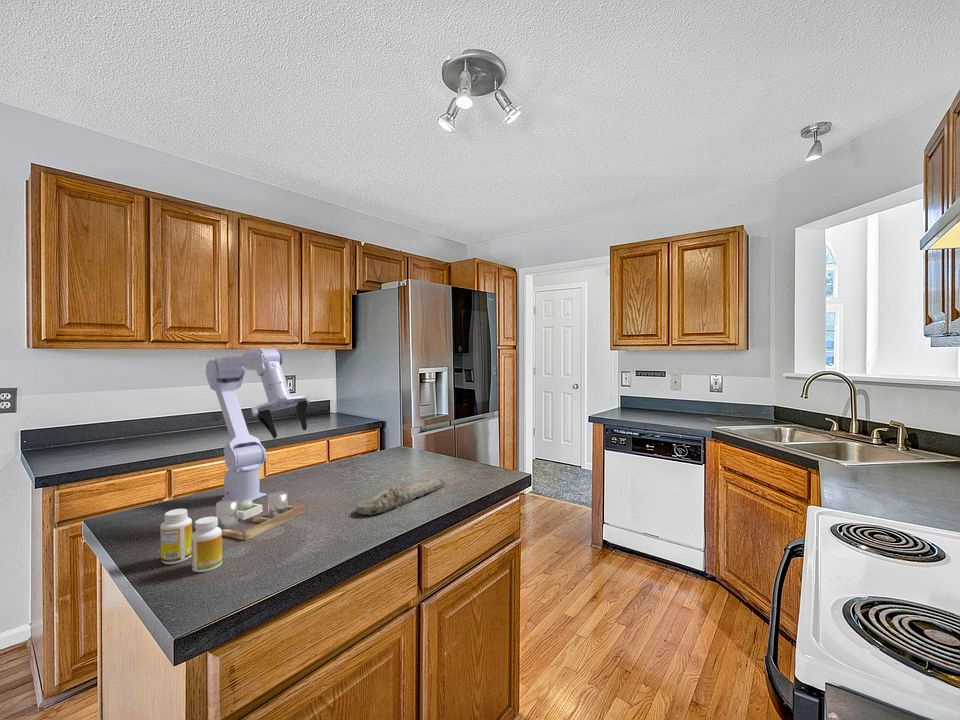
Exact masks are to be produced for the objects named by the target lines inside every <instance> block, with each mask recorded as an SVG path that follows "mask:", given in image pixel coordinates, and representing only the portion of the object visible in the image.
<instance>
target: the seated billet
mask: <svg viewBox="0 0 960 720" xmlns="http://www.w3.org/2000/svg"><path fill="white" fill-rule="evenodd" d="M288 498H289V497H288V492H287V491H284V490H283V491H282V490H281V491H274V492H271V493H268V494H267V518H273V517H276V516H278V515H280V514H282V513H285V512H287V511H288V505H289V504H288V501H289V500H288Z"/></svg>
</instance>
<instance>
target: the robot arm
mask: <svg viewBox="0 0 960 720" xmlns="http://www.w3.org/2000/svg"><path fill="white" fill-rule="evenodd" d="M282 365H283V353H282V352H281V350H280V349H278V348H265V347H260V348H252V347H251V348H249V350H248V351H247V350H246V351H245V352H244V353H243V354H242V355H227V356H221V357H216V358H215V357H214V359H213V358H212V359H209V360H208V362H207V363H206V366H205V377H206V380H207V383H208V385H209V389H210V390H212V391H214V392H215V393H216V397H217V400H218V403H219V406H220V409H221V413H222V415H223V416H222V417H223V419H224V421H225V426H226V428H227V431H228V434H229V437H230V440H229V442H228V443H226V445H225V447H223V455H224V463H225V466H226V468H227V469H228V470H227V471H226V472H225V474H224V477H223V487H224V488H223V491H224V493H223V494H224V495H223V496H224V497H221V501H222V500H226V499H237V500H238V502H239V501H241V500H248V499H249V500H252V501H254V500H258V499H260V498H263V497H265V496H267V493H264V492H260V485H261V484H260V468H262V465H263V464H264V463H265V462H266V457H267V453H266V449H265V447H264V446H263V445H262V443H261V441H260V438H258V437H257V436H254V435H252V434H250V433H249V429H248V427H247V424H246V420H245V418H244V415H243V412H242V409H241V406H240V402H239V400H238V397H237V394H236V390H238V389H239V388H241V387H242V384H243V381H244V379H245V375H246V372H247V370H248V371H255V372H256V375H257V376H258V377H260V379H261V383H262V385H263V389H264V392H265V396H266V398H267V402H265V403H263V404H259V405H256V406H252V407H251V410H250V411H251V413H252V417H257V420H258V421H259V422H260V423H261V424H263V426H264V427H265V428H266V429H267V430H268V432H269V433H270V435H271V436H272V439H277V437H278V433H277V431H276V427H275V424H274V422H273V418H272V414H271V413H272V412H275V411H280V410H283V409H289V408H292V407H296V410H295V412H296V414H297V417H298V419H299V422H300V425H301V429H302V431H303V432H304V431H306V430H307V429H308V426H307V425H308V423H307V409H308V404H310V402H311V399H310V396H309V394H305V395H296V396H295V395H294V396H292V395H291V393H290V389H289V386H288V383H287V380H286V378H285V373H284V372H283V368H282Z"/></svg>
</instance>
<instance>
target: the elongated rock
mask: <svg viewBox="0 0 960 720" xmlns="http://www.w3.org/2000/svg"><path fill="white" fill-rule="evenodd" d="M446 482H447V481H446V479H445V478H444V477H443V476H439V475H438V476H430V477H424V478H421V479H419V480H415V481H413V482H412V481H411V482H410V483H406V484H404V485H402V486H398V485H394V486H390V488H385V489H383V490H381V491H379V492H377V493H374V494H373V495H371V496H369V497H367V498H365V499H363V500H361V501H360V502H359V503H357V505H356V507H355V510H356V513H357V514H358V515H364V516H366V515H368V516H372V515H376V514H381V513H386V512H389V511H392V510H393V509H400V507H402V506H404V505H405V504H408V503H410V502H412V501H414V500H415V499H416V498H419V497H424V496H425V495H427V494H430V493H433V492H435V491H438V490H439V489H441V488H443V487H444V485H446Z"/></svg>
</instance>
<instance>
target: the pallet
mask: <svg viewBox="0 0 960 720" xmlns="http://www.w3.org/2000/svg"><path fill="white" fill-rule="evenodd" d="M305 506H306V505H305V504H300V505H298V506H295V505H289V504H288V511H287V512H285V513H282V514H280V515H278V516H276V517H273V518H268V517H265V516H259V515H255V516H252V522H253V523H258V524H256V525H253V526H252V527H249V528H247V529H245V530H243V531H239V530H232V529H221V530H222V537H228V538H232V539H237V540H241V541H242V540H243V541H249V539H252V538H254V537H256V536H259V535H260V534H262V533H265V532H267V531H268V530H271V529H273V528H275V527H277V526H279V525H281V524H283V523H286V522H287V521H290V520H292V519H294V518H296V517H298V516H301V515H303V514H304V513H306V507H305Z"/></svg>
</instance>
